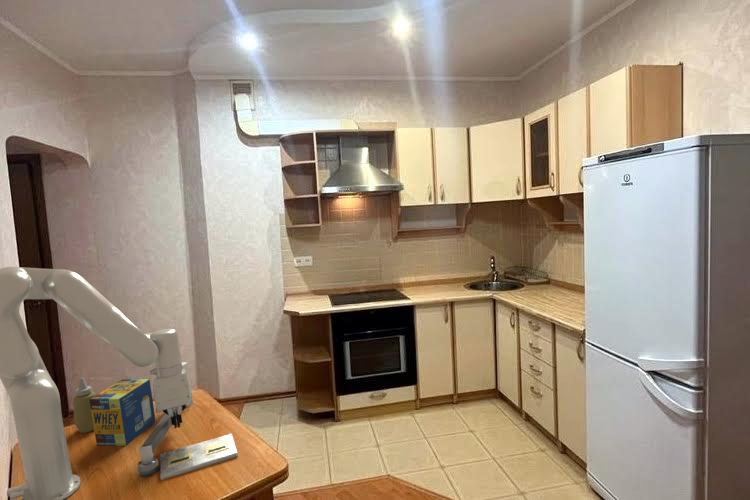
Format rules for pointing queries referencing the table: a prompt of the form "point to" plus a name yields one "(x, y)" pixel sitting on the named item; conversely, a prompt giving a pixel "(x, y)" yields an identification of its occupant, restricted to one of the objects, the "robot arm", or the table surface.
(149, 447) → the lever
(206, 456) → the label panel
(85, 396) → the squeeze bottle
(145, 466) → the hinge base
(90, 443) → the table surface
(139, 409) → the protein box
